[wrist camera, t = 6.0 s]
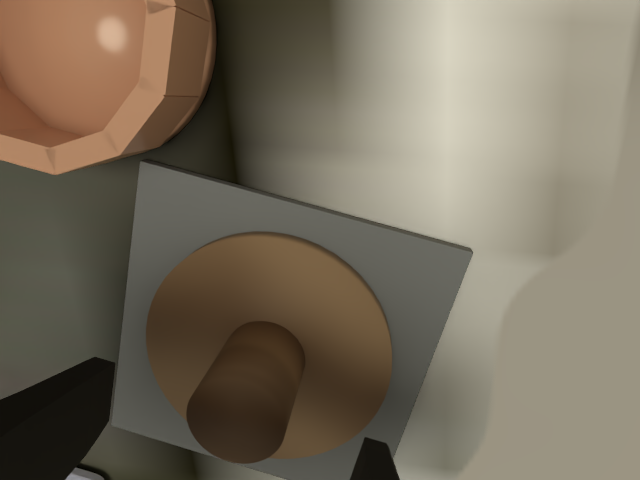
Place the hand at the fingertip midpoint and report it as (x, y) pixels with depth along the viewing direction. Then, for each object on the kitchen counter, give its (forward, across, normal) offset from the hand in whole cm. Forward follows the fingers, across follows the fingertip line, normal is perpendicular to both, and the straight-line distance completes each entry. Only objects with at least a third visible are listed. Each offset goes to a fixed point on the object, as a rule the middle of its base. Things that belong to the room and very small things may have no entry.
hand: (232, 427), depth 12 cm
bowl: (+4, +7, -9) cm, 12 cm away
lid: (+4, 0, 0) cm, 4 cm away
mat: (+4, 0, 0) cm, 4 cm away
